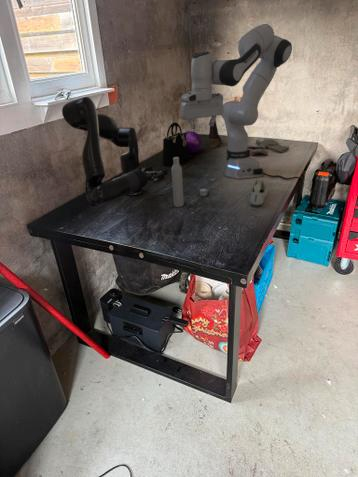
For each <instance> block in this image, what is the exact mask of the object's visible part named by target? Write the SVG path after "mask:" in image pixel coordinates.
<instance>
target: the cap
mask: <svg viewBox="0 0 358 477" xmlns="http://www.w3.org/2000/svg"><path fill="white" fill-rule="evenodd" d="M199 196H201V197H206V196H208V189H207V188H200V189H199Z"/></svg>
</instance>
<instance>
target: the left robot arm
mask: <svg viewBox="0 0 358 477" xmlns="http://www.w3.org/2000/svg"><path fill="white" fill-rule="evenodd" d="M61 114H62V117H63V119H64V121H65V122H66V124H68V125H69V126H70V127H72V129H76V130H81V131H84V132H86V138H85V142H84V145H83V149H82V153H81V161H82V168H83V171H84V176H85V180H84V184H85V186H84V189H85V190H84V191H85V192H84V193H85V198H86V200H87V202H88V204H89V205H90V206H91V207H93V208H101V207H102V206H104V205H106V204H108V203H110V202H112V201H113V200H116V199H117V198H122V197H123V196H125V195H127V196H138V195H140V194H142V193H143V192H144V190H143V188H145V187H146V186H147V183H149V182H152V181H153V183H154V184H156V183H159V182H161V181H163V180H165V179H166V177H165V176H167V175H168V174H169V173H168V169H167V168H165V169H162V170H160V171H156V170H153V166H152V165H150V166H147V167H141V166H140V157H139V141H138V132H137V129H136V128H135V127H119V126H118V123H117V122H116V120H115V119H114V118H112V117H110V116H109V115H107V114H103V113H98V110H97V107H96V105H95V102H94V101H93V100H92V98H90V97H89V96H86V95H85V96H81V97H78V98H76V99H73V100H70V101H68V102H66V103H65V104H64V105H63V106H62V109H61ZM100 138H101V139H104V140H107V141H109V142H110V143H112V144H114V145H115V146H116V147H119V148H128V151H126V152H124V153H122V154H121V155H120V156H119V160H120V167H121V175H120V176H117V177H115V178H113V179H111V180H107V181H103V180H104V178H105V177H106V171H105V167H104V161H103V158H102V153H101V143H100Z"/></svg>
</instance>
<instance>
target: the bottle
mask: <svg viewBox="0 0 358 477" xmlns="http://www.w3.org/2000/svg"><path fill="white" fill-rule="evenodd" d="M173 163H174V164H173V166H171V167H170V168H171V183H172V184H171V185H172V187H171V188H172V199H173V200H172V201H173V207H176V208H180V207H183V206H184V205H185V203H184V202H185V200H184V180H183V167H182V165H181V163H179V157H174V158H173Z"/></svg>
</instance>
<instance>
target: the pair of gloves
mask: <svg viewBox="0 0 358 477" xmlns="http://www.w3.org/2000/svg"><path fill="white" fill-rule="evenodd" d="M255 145H257V146H254V145H248V147H247V149H249V150H251V151H252V152H253V154H252V155H251V156H256V155H260V154H263V155H265V156H268V154H269V153H268V152H267V151H266V149H269V150H271V151H275V152H278V153H284V152H287V151H289V150H290V146H287V145H281V144H280V143H279V142H278V141H276V140H275V139H272V138H267V139H264V140H259V139H256V141H255Z"/></svg>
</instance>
